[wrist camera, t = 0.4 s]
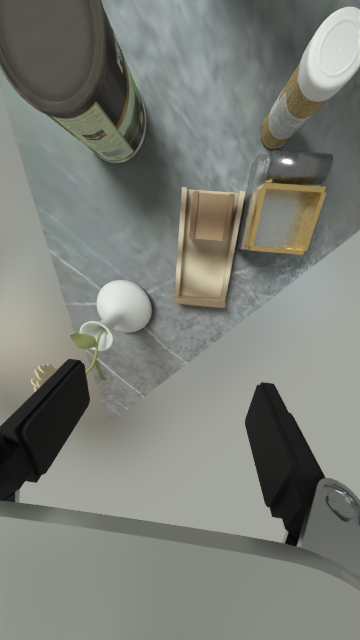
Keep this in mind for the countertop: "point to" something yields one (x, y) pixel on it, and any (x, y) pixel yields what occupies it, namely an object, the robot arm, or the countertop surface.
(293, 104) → the sprinkles bottle
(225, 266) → the tray
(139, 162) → the countertop surface
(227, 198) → the tan cardboard box
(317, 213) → the gold open box
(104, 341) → the flower in vase
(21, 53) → the coffee can
